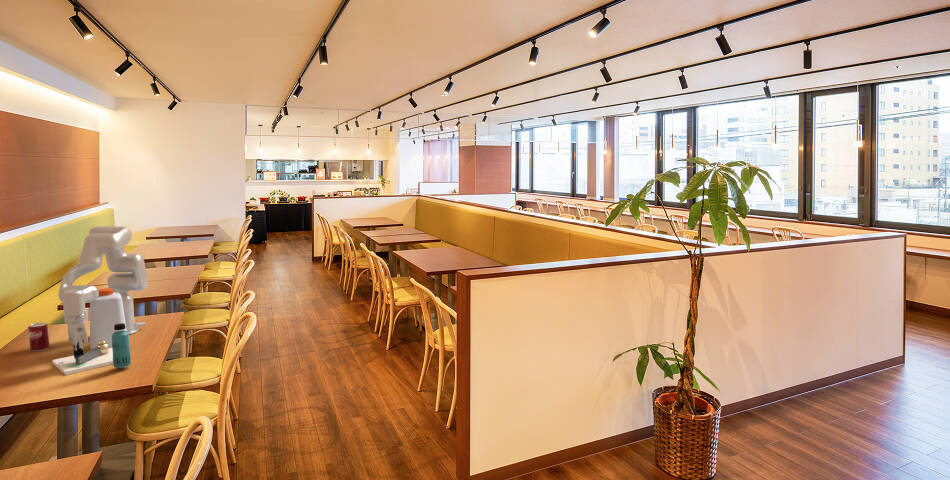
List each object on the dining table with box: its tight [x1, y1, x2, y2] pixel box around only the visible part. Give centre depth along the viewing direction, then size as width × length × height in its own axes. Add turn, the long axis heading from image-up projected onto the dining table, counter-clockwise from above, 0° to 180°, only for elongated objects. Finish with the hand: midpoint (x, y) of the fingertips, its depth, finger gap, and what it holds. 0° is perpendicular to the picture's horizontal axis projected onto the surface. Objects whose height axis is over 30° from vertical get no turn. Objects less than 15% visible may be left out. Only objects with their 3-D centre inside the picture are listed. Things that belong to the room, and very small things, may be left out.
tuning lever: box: [75, 340, 108, 364], centre depth 236 cm, size 17×4×6 cm, turn 177°
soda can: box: [27, 322, 51, 352], centre depth 251 cm, size 7×7×12 cm
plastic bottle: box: [89, 287, 127, 350], centre depth 256 cm, size 15×15×28 cm
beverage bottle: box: [112, 323, 132, 369], centre depth 229 cm, size 6×7×20 cm
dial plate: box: [51, 347, 114, 376], centre depth 237 cm, size 23×20×2 cm
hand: (79, 358), depth 233 cm, fingers closed
